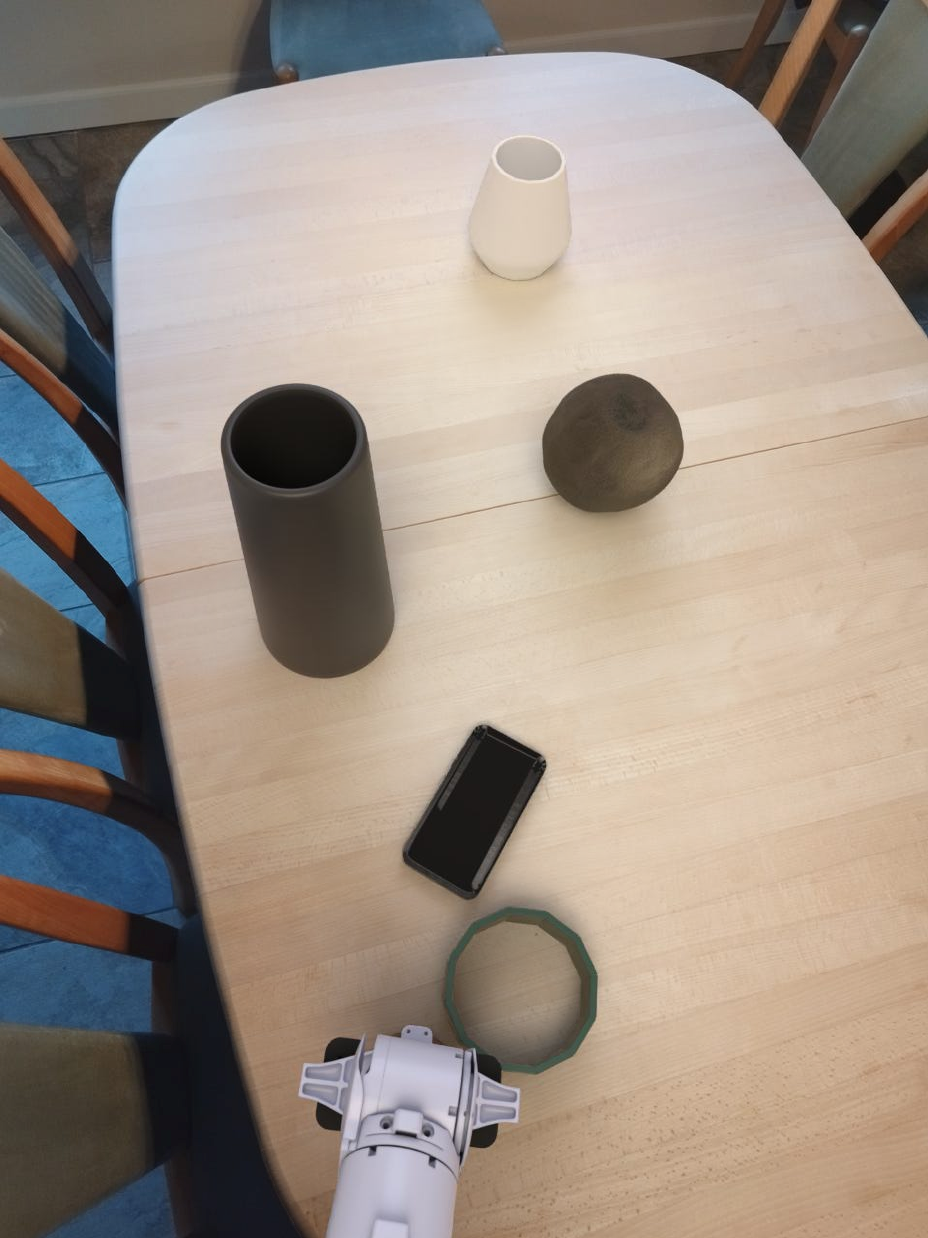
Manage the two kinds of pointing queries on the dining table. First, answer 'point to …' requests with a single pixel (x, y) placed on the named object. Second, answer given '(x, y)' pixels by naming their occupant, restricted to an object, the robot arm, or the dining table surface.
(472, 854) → the phone
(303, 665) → the vase
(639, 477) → the dark brown round lump
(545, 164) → the cup
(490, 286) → the dining table surface
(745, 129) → the dining table surface
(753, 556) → the dining table surface
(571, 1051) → the green polygonal ring
